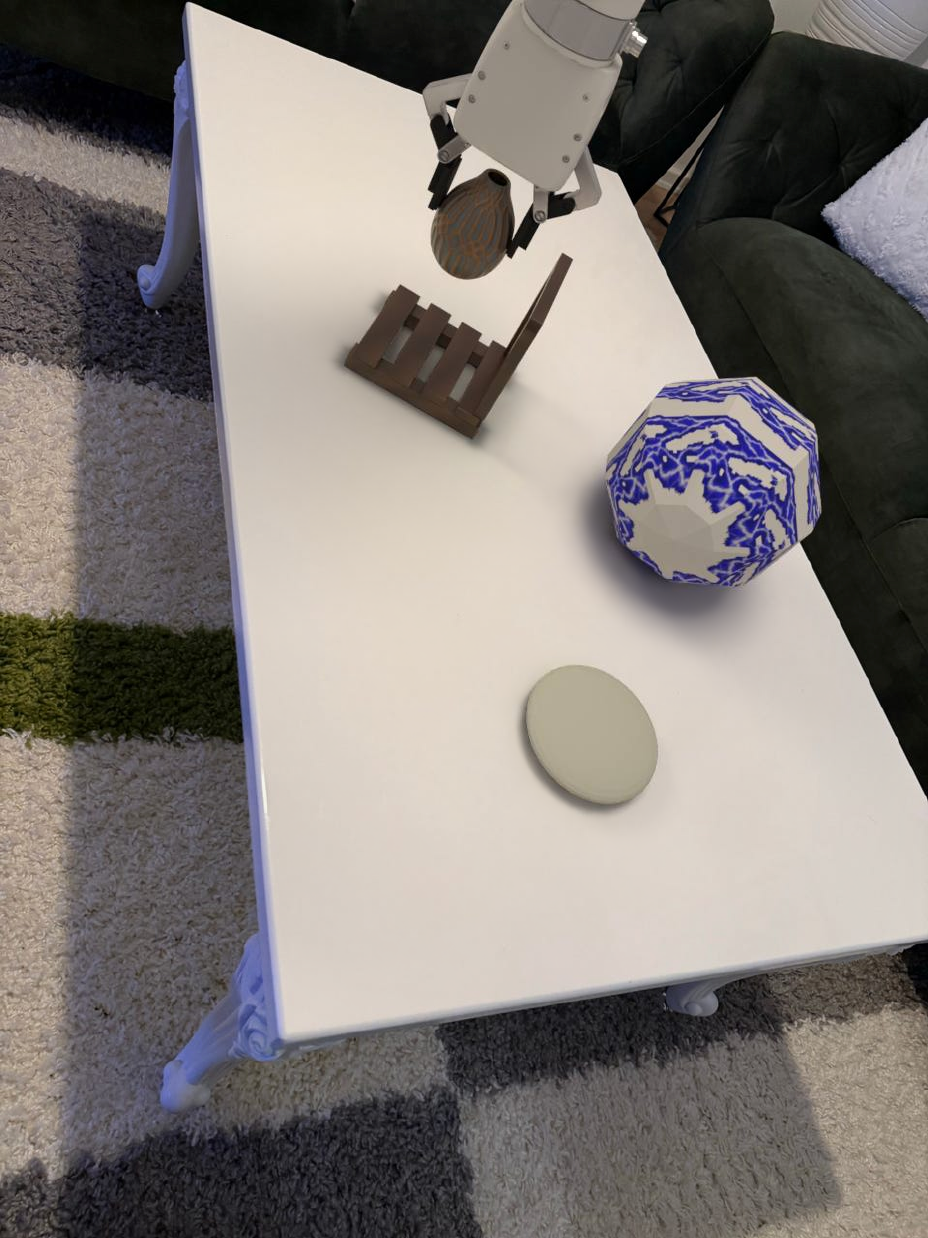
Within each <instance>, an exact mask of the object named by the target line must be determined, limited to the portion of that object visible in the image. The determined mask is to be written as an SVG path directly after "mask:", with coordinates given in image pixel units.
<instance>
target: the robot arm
mask: <svg viewBox="0 0 928 1238" xmlns="http://www.w3.org/2000/svg"><path fill="white" fill-rule="evenodd" d="M645 2H646V0H512V1H511V2H510V3H509V5H508V6H507V8H506V10H505V11H504V13H503V15H502V16H501V18H500V20H499V21H498V23H497V24H496V27H495V29H494V30H493V32H492V33H491V35H490V37H489V39H488V41H487V43H486V44H485V47H484V49H483V51H482V53H481V55H480V57H479V58H478V60H477V63H476V65H475V67H474V69H473V70H472V72H471V73H467V74H461V75H457V76H453V77H448V78H445V79H439V80H435V81H432V82H429V83H428V84H427V85H426V86H425V88H424V89H423V90H422V93H421V94H422V98H423V102H424V106H425V109H426V113H427V116H428V117H429V121H430V122H429V128H430V131H431V133H432V137H433V140H434V142H435V145H436V148H437V153H436V156H437V157H436V158H437V160H438V163H437V165H436V168H435V169H434V172H433V174H432V177H431V179H430V182H429V184H428V187H427V191H428V192H430V193H432V196H431V198H430V200H429V203H428V206H427V208H428V209H429V210H431V211H437V209H438V207H439V205H440V204H441V202H442V200H443V199H444V198H445V196H446V195H447V194H448V193H449V192H450V188H451V187H452V184H453V183H454V180H455V178H456V175H457V173H458V171H459V168H460V166H461V163H462V161H463V158H462V156H463V153H464V152H465V151H466V150H468V149H469V148H470V147H473V148H475V149H477V150H478V151H480V152H481V153H482V154H484V155H486V156H488V157H489V158H490V159H492V160H494V161H495V162H497V163H498V164H500V165H501V166H503V167H504V168H506V169H508V170H509V171H511V172H513V174H515V175H518V177H521V178H522V179H524V181H525V180H526V181H527V182H529V183H531V184H532V185H533V189H532V190H533V191H532V192H533V195H532V197H533V200H532V203H531V205H530V206H529V208H528V210H527V211H526V212H525V215H524V217H523V219H522V221H521V223H520V224H519V226H518V228H517V230H516V232H515V234H514V235H513V238H512V241H511V243H510V245H509V247H508V249H507V251H506V253H505V254H506V257H507V258H509V259H510V260H512V259H513V257H514V256H515V254H516V252H517V250H518V249H519V248H520V249H522V250H524V251H527V249H528V247H529V245H530V244H531V242H532V241H533V238H534V237H535V234H536V232H537V231H538V229H539V227H540V225H542V224H544V223H545V222H547V221H548V220H551V219H556V218H560V217H564V216H569V215H571V214H572V213H574V212H576V211H577V212H579V211H582V210H584V209H588V208H591V207H595V206H597V205H598V204H599V202H600V200H601V198H602V196H603V191H602V188H601V184H600V181H599V178H598V175H597V172H596V169H595V166H594V162H593V159H592V156H591V152H590V149H589V147H588V146H589V143H590V141H591V140H592V137H593V136H594V133H595V131H596V129H597V127H598V125H599V123H600V121H601V119H602V117H603V115H604V113H605V112H606V109H607V106H608V104H609V102H610V99H611V97H612V95H613V93H614V90H615V88H616V84H617V82H618V79H619V76H620V73H621V70H622V67H623V59H622V57H621V55H622V53H623V52H624V53H626V54H630V55H632V56H634V57H636V58H639V56H640V55H641V52H642V51H643V49H644V47H645V45H646V43H647V42H648V40H649V38H648V37H647V36H645V35H644V34H643V33H642V32H641V29H640V28H638V27H637V26H638V22H637V21H636V19H637V17H638V15H639V13H640V11H641V9H642V7H643V5H644V3H645ZM454 100H459V101H458V104H457V106H456V109H455V112H454V115H453V120H452V118H451V115H450V113H449V112H448V109H447V108H448V107H447V102H449V101H454ZM573 172H574V174H575V177H576V180H577V183H578V187H579V188H578V189H576V190H573V191H566V192H562V193H558V194H556V192H558V191H560V190H561V189H562V188H563V187H564V186H565V184H566V183H567V182H568V180H569V179H570V178H571V175H572V174H573Z"/></svg>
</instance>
